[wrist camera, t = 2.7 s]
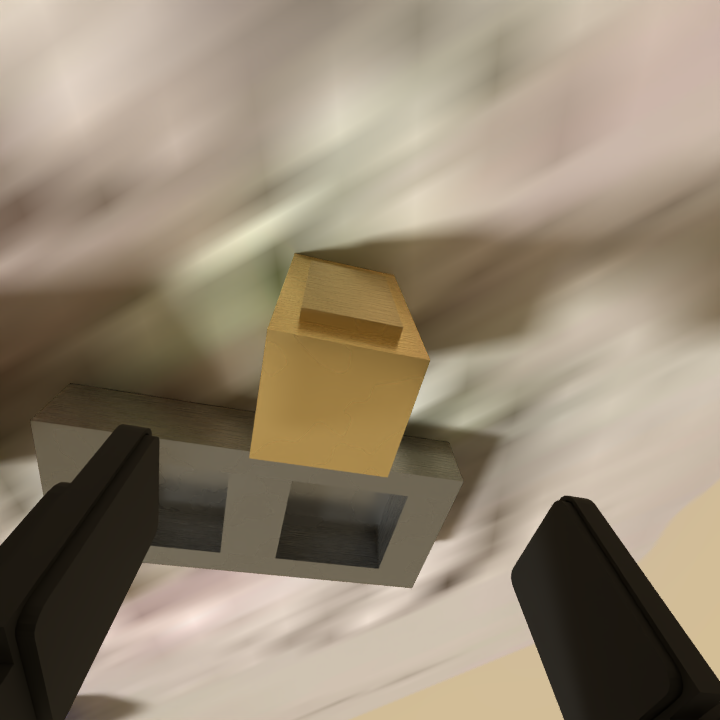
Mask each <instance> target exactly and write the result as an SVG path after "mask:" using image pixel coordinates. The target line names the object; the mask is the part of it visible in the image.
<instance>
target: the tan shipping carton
mask: <svg viewBox="0 0 720 720" xmlns="http://www.w3.org/2000/svg"><path fill="white" fill-rule="evenodd" d="M429 362H430V358H429V356H428V354H427V351H426V349H425V347H424V344H423V342H422V340H421V337H420V335H419V333H418V330H417V328H416V326H415V323H414V321H413V319H412V316H411V314H410V312H409V309H408V307H407V305H406V302H405V300H404V297H403V295H402V293H401V290H400V288H399V286H398V283H397V281H396V279H395V276H394V275H391V274H386V273H382V272H377V271H373V270H368V269H364V268H359V267H354V266H350V265H345V264H341V263H336V262H332V261H327V260H323V259H318V258H314V257H309V256H305V255H300V254H296V253H295V254H294V257H293V260H292V263H291V265H290V268H289V271H288V274H287V276H286V279H285V282H284V285H283V287H282V290H281V293H280V296H279V299H278V301H277V304H276V307H275V310H274V312H273V315H272V318H271V321H270V324H269V326H268V329H267V336H266V343H265V350H264V357H263V364H262V371H261V378H260V385H259V392H258V399H257V406H256V413H255V420H254V427H253V434H252V441H251V448H250V455H249V458H251V459H258V460H266V461H273V462H280V463H287V464H294V465H302V466H309V467H316V468H323V469H330V470H337V471H345V472H352V473H359V474H366V475H373V476H380V477H388V475H389V473H390V470H391V467H392V464H393V461H394V459H395V456H396V453H397V450H398V448H399V445H400V442H401V439H402V437H403V434H404V431H405V428H406V426H407V423H408V420H409V417H410V415H411V412H412V409H413V406H414V404H415V401H416V398H417V395H418V393H419V390H420V387H421V384H422V381H423V379H424V376H425V373H426V370H427V368H428V365H429Z"/></svg>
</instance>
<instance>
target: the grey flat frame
mask: <svg viewBox="0 0 720 720" xmlns="http://www.w3.org/2000/svg"><path fill="white" fill-rule="evenodd" d="M255 413H256V412H250V411H243V410H237V409H231V408H224V407H218V406H211V405H205V404H199V403H192V402H186V401H179V400H173V399H167V398H160V397H154V396H147V395H141V394H135V393H128V392H122V391H115V390H109V389H103V388H96V387H90V386H83V385H77V384H71V383H70V384H69V385H68V386H67V387H66V388H65V389H64V390H63V391H62V392H60V393H59V394H58V395H57V396H56V397H55V398H54V399H53V400H52V401H51V402H50V403H49V404H47V405H46V406H45V407H44V408H43V409H42V410H41V411H40V412H39V413H38V414H37V415H36V416H34V417H33V418H32V419H31V420H30V423H31V428H32V434H33V439H34V445H35V451H36V456H37V462H38V467H39V473H40V478H41V484H42V490H43V495H45V494H46V493H47V492H48V491H49V490H50V489H51V488H52V487H53V486H54V485H56V484H58V483H60V482H69V483H71V482H72V481H73V480H74V478H75V477H76V476H77V475H78V474H79V472H80V471H81V470H82V469H83V468H84V466H85V465H86V464H87V463H88V461H89V460H90V459H91V458H92V457H93V455H94V454H95V453H96V452H97V451H98V449H99V448H100V447H101V446H102V445H103V443H104V442H105V441H106V440H107V438H108V437H109V436H110V435H111V434H112V432H113V431H114V430H115V429H116V428H117V427H118V426H119V425H121V424H126V425H132V426H139V427H145V428H150V429H151V431H152V436H157V437H159V441H160V448H159V514H158V527H157V531H156V534H155V537H154V539H153V542H152V544H151V546H150V548H149V550H148V552H147V554H146V556H145V558H144V560H143V562H142V563H151V564H162V565H172V566H183V567H193V568H204V569H215V570H225V571H236V572H246V573H257V574H268V575H278V576H289V577H299V578H310V579H321V580H331V581H342V582H352V583H363V584H373V585H384V586H395V587H405V588H412V587H413V585H414V583H415V581H416V579H417V577H418V575H419V573H420V571H421V569H422V566H423V564H424V562H425V560H426V558H427V556H428V554H429V552H430V550H431V548H432V546H433V544H434V542H435V540H436V538H437V536H438V533H439V531H440V529H441V527H442V525H443V523H444V521H445V519H446V517H447V515H448V513H449V511H450V509H451V507H452V505H453V503H454V500H455V498H456V496H457V494H458V492H459V490H460V488H461V486H462V484H463V482H464V481H463V479H462V476H461V473H460V471H459V468H458V465H457V463H456V460H455V457H454V455H453V452H452V449H451V447H450V444H449V443H448V442H442V441H435V440H429V439H422V438H416V437H410V436H403V437H402V439H401V442H400V445H399V448H398V450H397V453H396V456H395V459H394V461H393V464H392V467H391V470H390V473H389V475H388V477H380V476H373V475H366V474H359V473H352V472H345V471H337V470H330V469H323V468H316V467H309V466H302V465H294V464H287V463H280V462H273V461H266V460H258V459H251V458H249V455H250V448H251V441H252V434H253V427H254V420H255Z"/></svg>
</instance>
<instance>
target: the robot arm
mask: <svg viewBox="0 0 720 720" xmlns="http://www.w3.org/2000/svg"><path fill="white" fill-rule="evenodd" d="M159 448H160V441H159V437H157V436H152V431H151V429H150V428H145V427H139V426H132V425H126V424H121V425H119V426H118V427H117V428H116V429H115V430H114V431H113V432H112V434H111V435H110V436H109V437H108V438H107V440H106V441H105V442H104V443H103V445H102V446H101V447H100V448H99V449H98V451H97V452H96V453H95V454H94V455H93V457H92V458H91V459H90V460H89V461H88V463H87V464H86V465H85V466H84V468H83V469H82V470H81V471H80V472H79V474H78V475H77V476H76V477H75V478H74V480H73V481H72V482H71V483H69V482H60V483H58V484H56V485H54V486H53V487H52V488H51V489H50V490H49V491H48V492H47V493H46V494H45V495H44V496H43V497H42V499H41V500H40V501H39V502H38V503H37V504H36V506H35V507H34V508H33V509H32V510H31V511H30V512H29V514H28V515H27V516H26V517H25V518H24V519H23V520H22V522H21V523H20V524H19V525H18V526H17V527H16V528H15V530H14V531H13V532H12V533H11V534H10V535H9V536H8V538H7V539H6V540H5V541H4V542H3V543H2V544H1V546H0V720H64V719H65V717H66V716H67V714H68V712H69V710H70V708H71V706H72V704H73V702H74V700H75V698H76V696H77V694H78V692H79V690H80V688H81V686H82V684H83V681H84V679H85V677H86V675H87V673H88V671H89V669H90V667H91V665H92V663H93V661H94V659H95V657H96V655H97V653H98V651H99V649H100V647H101V645H102V643H103V641H104V639H105V637H106V635H107V633H108V631H109V629H110V627H111V625H112V623H113V621H114V619H115V617H116V615H117V613H118V611H119V609H120V606H121V604H122V602H123V600H124V598H125V596H126V594H127V592H128V590H129V588H130V586H131V584H132V582H133V580H134V578H135V576H136V574H137V572H138V570H139V568H140V566H141V564H142V562H143V560H144V558H145V556H146V554H147V552H148V550H149V548H150V546H151V544H152V542H153V539H154V537H155V534H156V531H157V527H158V514H159ZM511 580H512V585H513V588H514V590H515V593H516V596H517V598H518V601H519V603H520V606H521V609H522V611H523V614H524V616H525V619H526V622H527V624H528V627H529V629H530V632H531V635H532V637H533V640H534V642H535V645H536V647H537V650H538V653H539V655H540V658H541V660H542V663H543V666H544V668H545V671H546V674H547V676H548V679H549V681H550V684H551V686H552V689H553V692H554V694H555V697H556V700H557V702H558V705H559V707H560V710H561V713H562V715H563V718H564V720H720V681H719V680H718V678H717V677H716V675H715V674H714V672H713V671H712V670H711V668H710V667H709V665H708V664H707V663H706V661H705V660H704V658H703V657H702V655H701V654H700V653H699V651H698V650H697V648H696V647H695V645H694V644H693V643H692V641H691V640H690V638H689V637H688V636H687V634H686V633H685V631H684V630H683V628H682V627H681V626H680V624H679V623H678V621H677V620H676V619H675V617H674V616H673V614H672V613H671V611H670V610H669V609H668V607H667V606H666V604H665V603H664V601H663V600H662V599H661V598H660V596H659V594H658V593H657V592H656V590H655V589H654V587H653V586H652V585H651V583H650V582H649V580H648V579H647V577H646V576H645V575H644V573H643V572H642V570H641V569H640V567H639V566H638V565H637V563H636V562H635V560H634V559H633V558H632V556H631V555H630V553H629V552H628V550H627V549H626V548H625V546H624V545H623V543H622V542H621V541H620V539H619V538H618V536H617V535H616V533H615V532H614V531H613V529H612V528H611V526H610V525H609V523H608V522H607V521H606V519H605V518H604V516H603V515H602V514H601V512H600V511H599V509H598V508H597V506H596V505H595V504H594V503H593V502H592V501H591V500H589V499H585V498H579V497H573V496H563V497H561V499H560V500H559V501H556V502H554V504H553V505H552V507H551V508H550V510H549V511H548V513H547V515H546V516H545V518H544V519H543V521H542V523H541V524H540V526H539V528H538V529H537V531H536V532H535V534H534V536H533V537H532V539H531V540H530V542H529V544H528V545H527V547H526V548H525V550H524V552H523V553H522V555H521V556H520V558H519V560H518V561H517V563H516V564H515V566H514V568H513V570H512V574H511Z"/></svg>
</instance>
